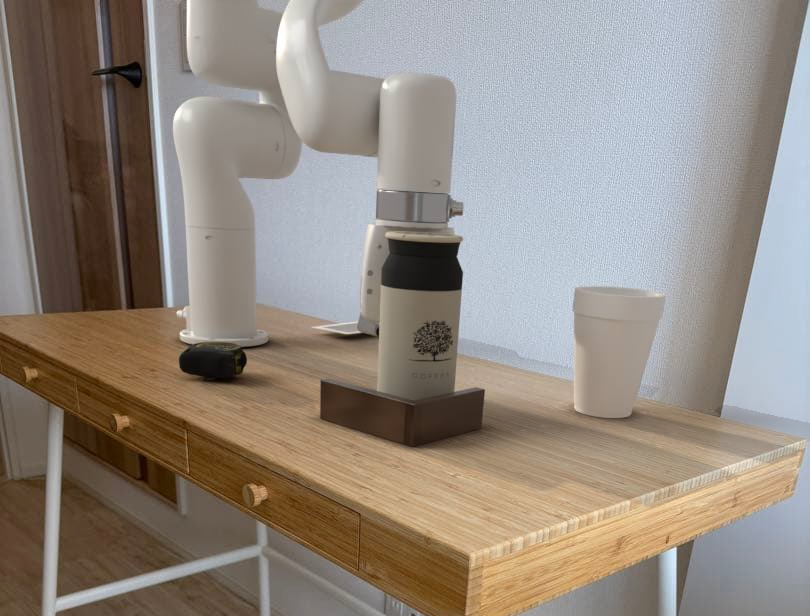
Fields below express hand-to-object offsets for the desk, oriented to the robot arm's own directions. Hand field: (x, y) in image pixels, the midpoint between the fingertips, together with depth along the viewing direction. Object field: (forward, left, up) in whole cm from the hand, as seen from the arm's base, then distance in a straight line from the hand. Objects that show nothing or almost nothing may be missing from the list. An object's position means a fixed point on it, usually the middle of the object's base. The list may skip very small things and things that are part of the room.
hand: (403, 387), depth 93 cm
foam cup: (+18, +13, -2) cm, 23 cm away
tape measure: (-22, -8, -2) cm, 23 cm away
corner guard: (+6, -8, -2) cm, 10 cm away
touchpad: (-32, +32, -2) cm, 45 cm away
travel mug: (+5, -5, -2) cm, 7 cm away
